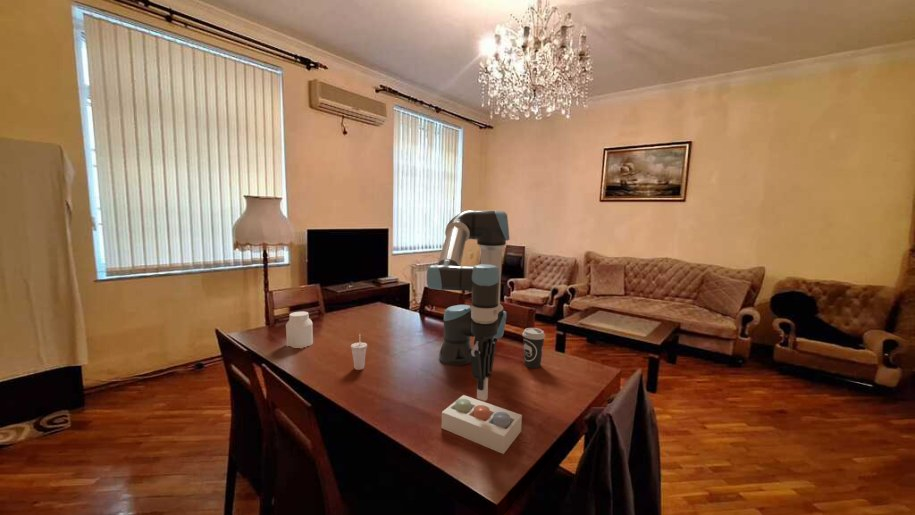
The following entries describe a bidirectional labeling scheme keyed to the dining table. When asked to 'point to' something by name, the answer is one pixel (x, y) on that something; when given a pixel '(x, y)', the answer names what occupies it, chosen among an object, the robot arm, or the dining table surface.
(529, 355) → the coffee cup
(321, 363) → the dining table surface
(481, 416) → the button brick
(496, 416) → the button slate
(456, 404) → the button sage
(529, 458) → the dining table surface
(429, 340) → the dining table surface
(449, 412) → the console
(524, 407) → the dining table surface
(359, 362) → the smoothie
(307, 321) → the jar
